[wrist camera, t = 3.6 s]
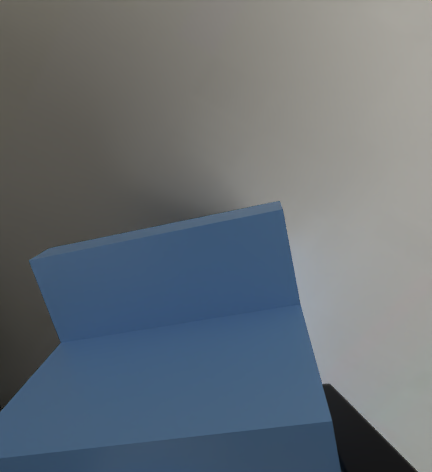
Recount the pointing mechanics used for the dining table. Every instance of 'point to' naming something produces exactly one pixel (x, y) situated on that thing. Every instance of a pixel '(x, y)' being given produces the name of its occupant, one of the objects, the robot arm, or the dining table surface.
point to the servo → (174, 356)
